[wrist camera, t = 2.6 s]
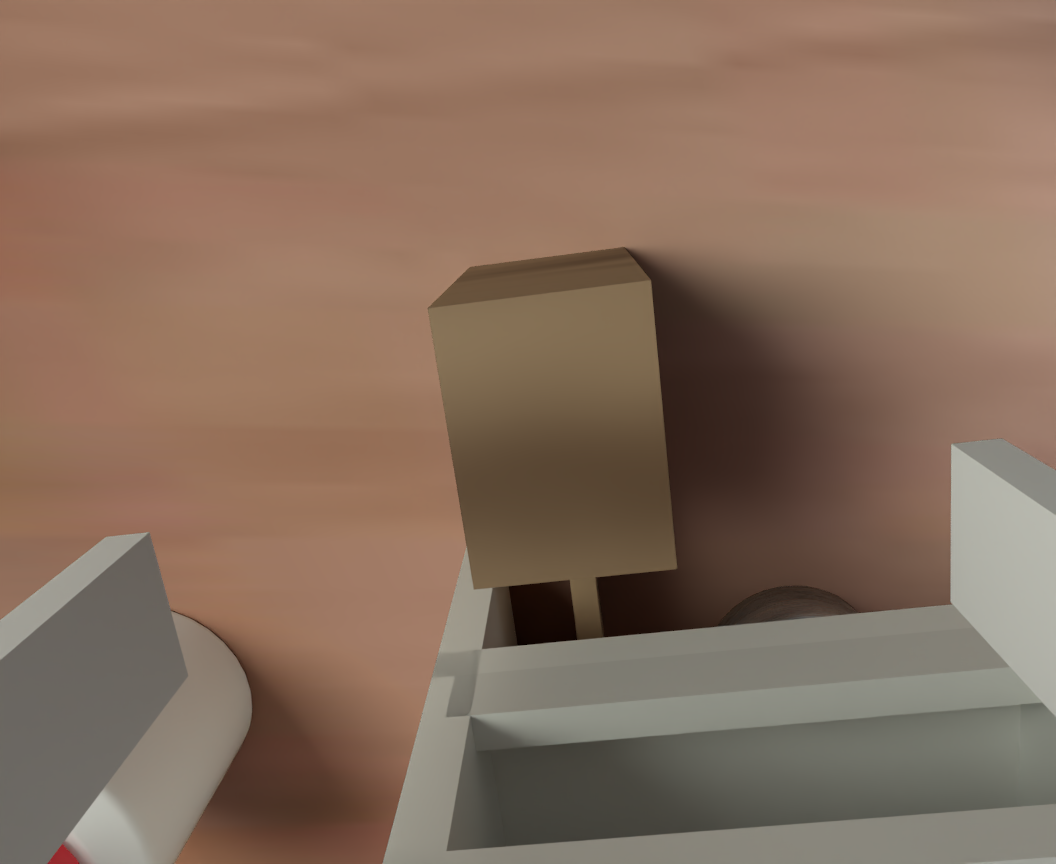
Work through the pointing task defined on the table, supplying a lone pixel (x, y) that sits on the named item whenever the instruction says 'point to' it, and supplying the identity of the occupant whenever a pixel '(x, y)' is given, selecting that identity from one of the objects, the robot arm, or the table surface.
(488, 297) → the tan block on stick
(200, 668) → the pill bottle
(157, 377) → the table surface
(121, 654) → the robot arm
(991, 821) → the shelf cabinet
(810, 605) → the shiny grey metal dome
